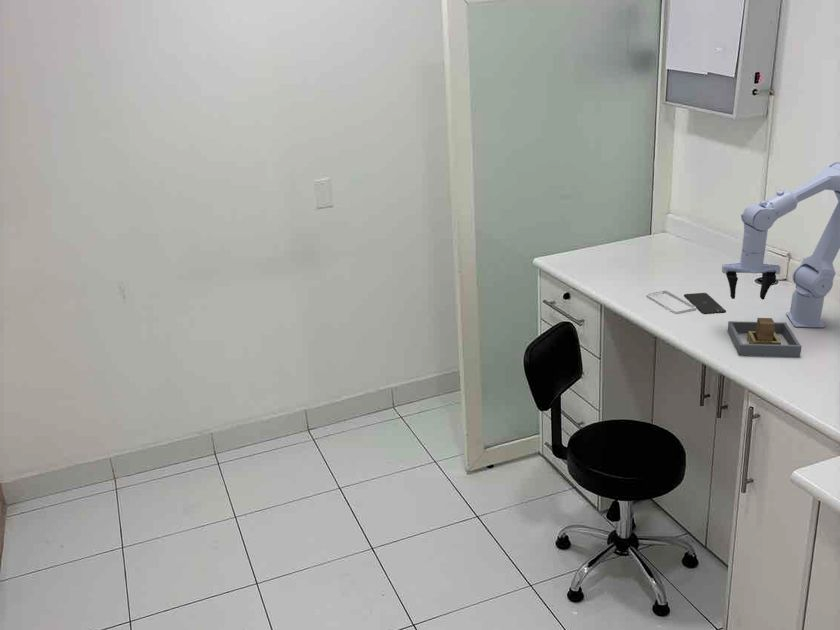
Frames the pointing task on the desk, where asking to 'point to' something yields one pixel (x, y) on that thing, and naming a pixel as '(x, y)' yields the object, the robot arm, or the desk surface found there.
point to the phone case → (675, 298)
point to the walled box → (764, 349)
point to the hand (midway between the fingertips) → (747, 297)
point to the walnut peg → (764, 329)
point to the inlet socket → (752, 340)
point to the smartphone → (704, 303)
